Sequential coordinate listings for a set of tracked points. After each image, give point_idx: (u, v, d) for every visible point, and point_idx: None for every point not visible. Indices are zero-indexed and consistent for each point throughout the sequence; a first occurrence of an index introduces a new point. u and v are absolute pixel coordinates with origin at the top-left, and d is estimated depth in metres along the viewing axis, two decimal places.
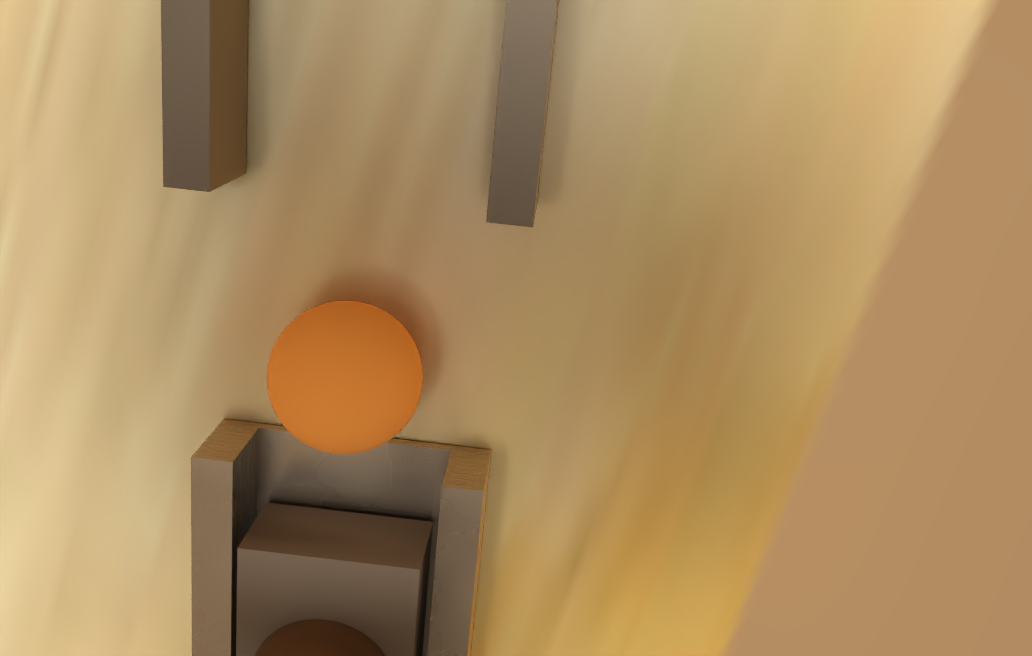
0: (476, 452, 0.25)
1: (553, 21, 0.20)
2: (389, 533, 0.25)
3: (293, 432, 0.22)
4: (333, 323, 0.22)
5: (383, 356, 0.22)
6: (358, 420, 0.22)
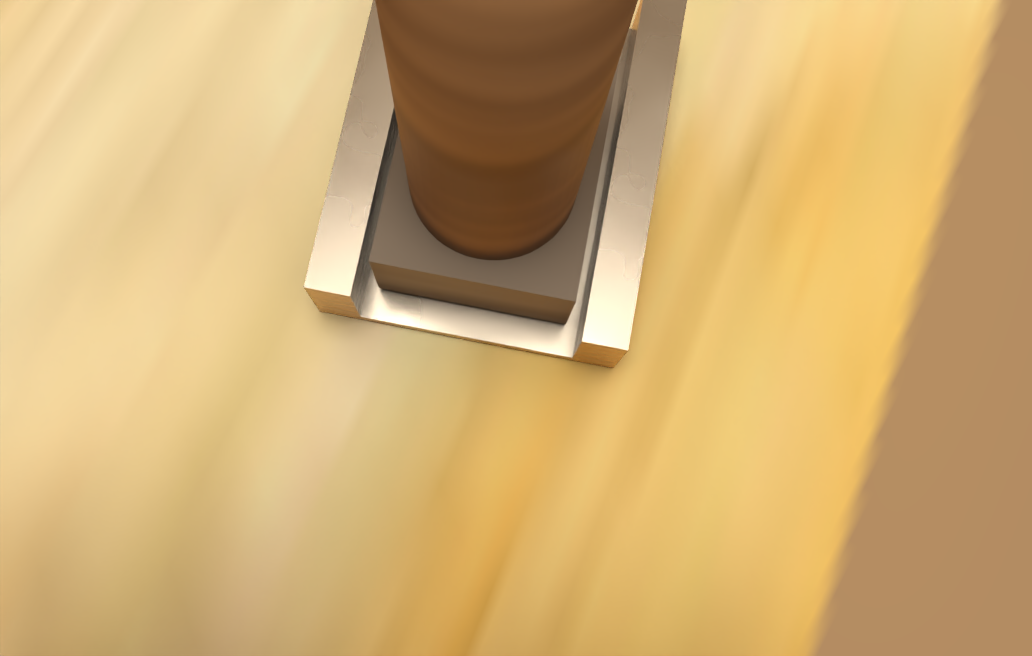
0: None
1: None
2: None
3: None
4: None
5: None
6: None
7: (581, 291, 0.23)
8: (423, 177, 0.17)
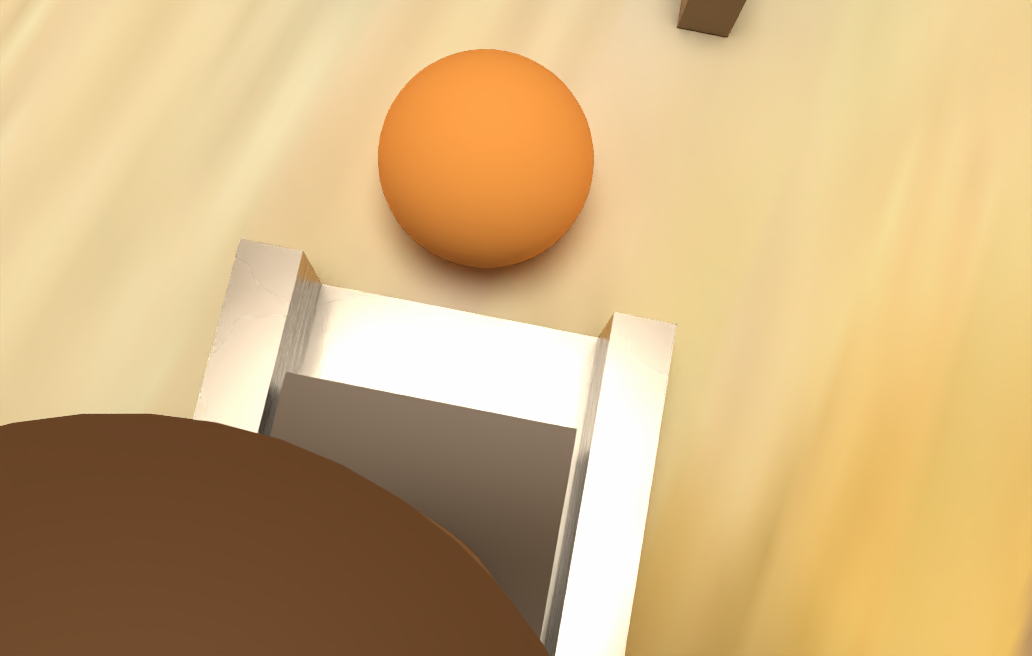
0: None
1: None
2: None
3: (418, 179, 0.15)
4: None
5: (562, 89, 0.16)
6: (526, 147, 0.15)
7: None
8: None
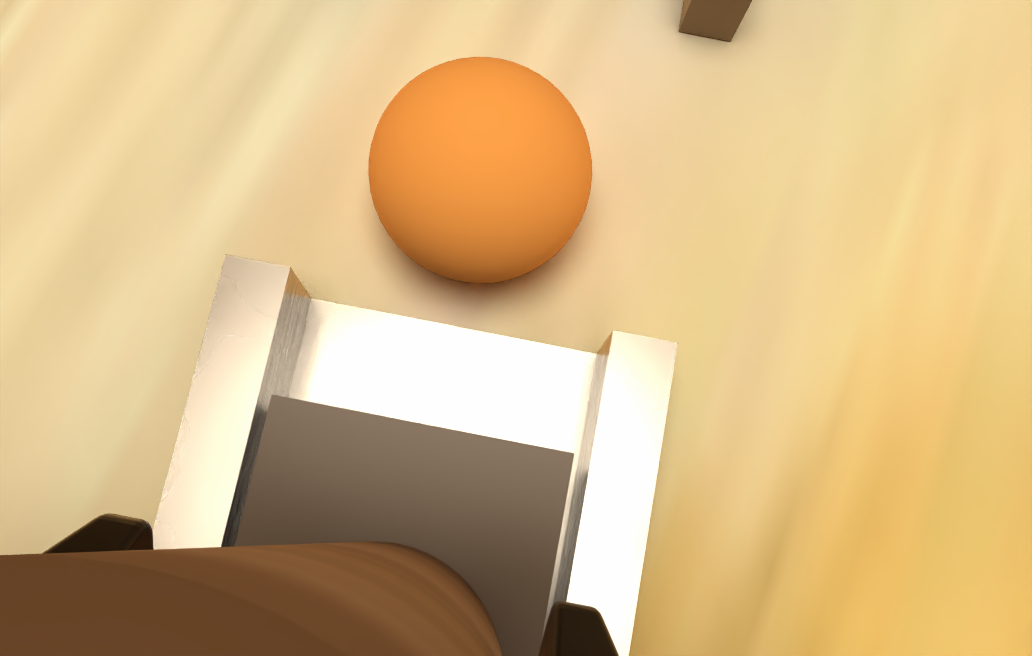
0: None
1: None
2: None
3: (409, 193, 0.15)
4: None
5: (560, 98, 0.15)
6: (522, 160, 0.14)
7: None
8: None
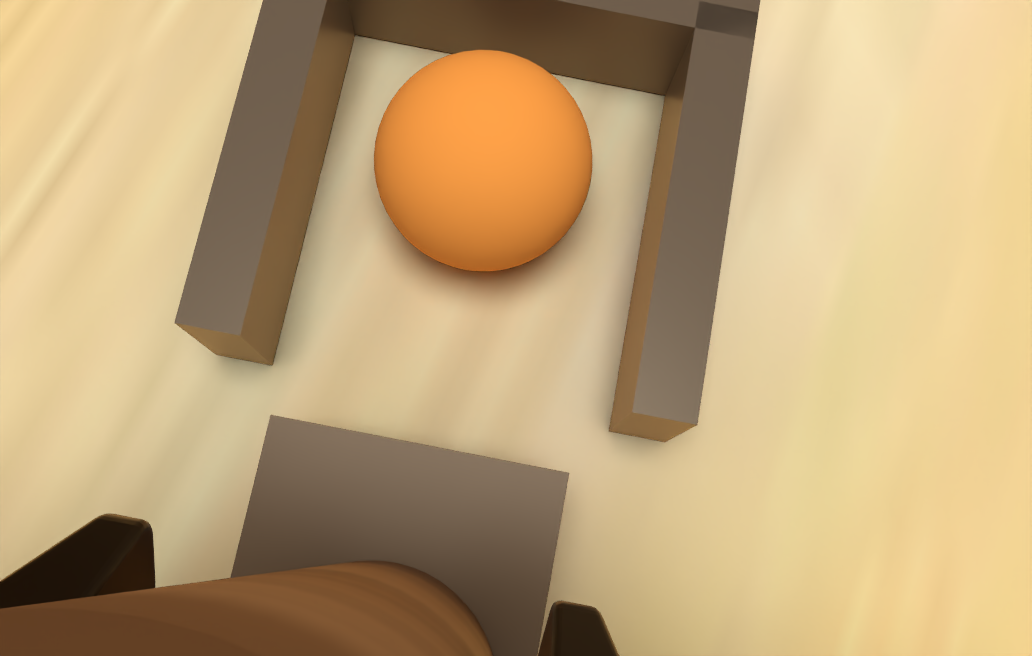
0: None
1: (734, 166, 0.16)
2: None
3: None
4: (457, 213, 0.15)
5: (531, 240, 0.15)
6: None
7: None
8: None
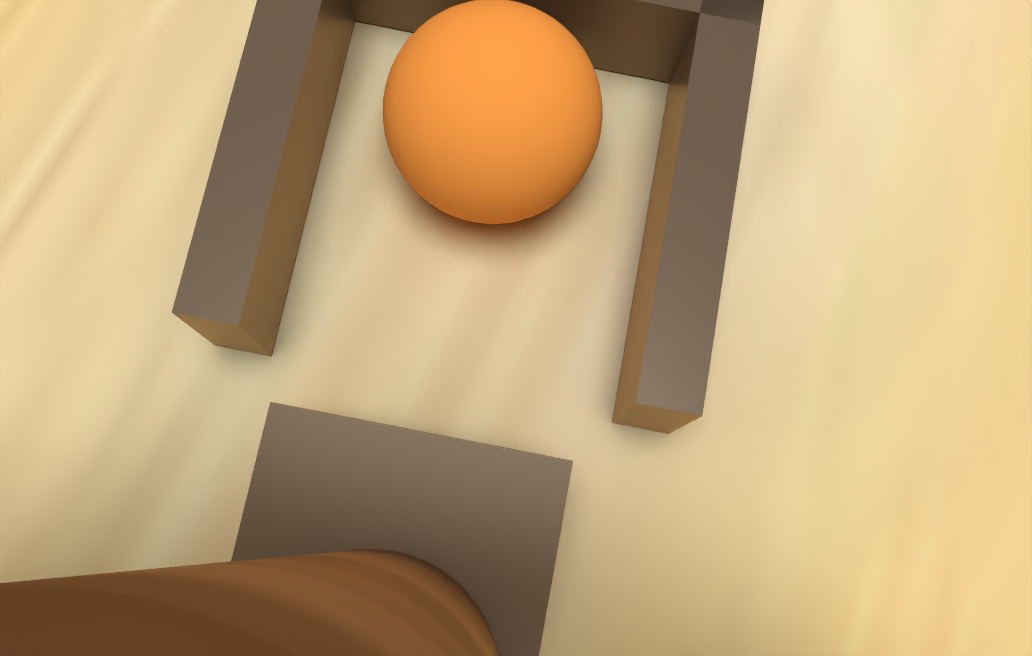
0: None
1: (739, 154, 0.15)
2: None
3: None
4: (473, 119, 0.14)
5: (547, 161, 0.15)
6: (512, 220, 0.16)
7: None
8: None
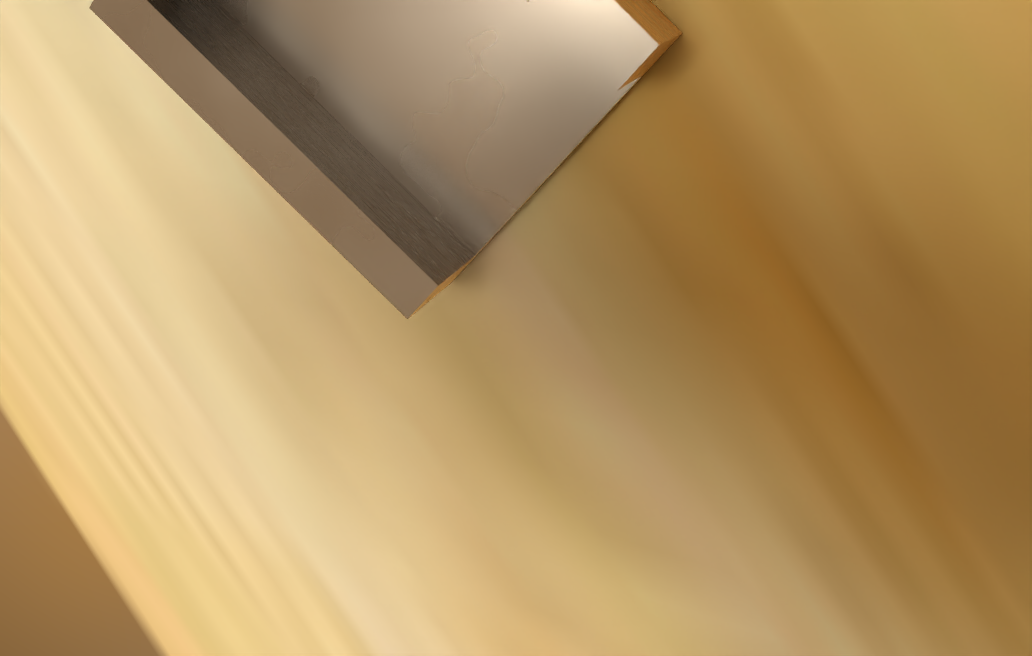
0: None
1: None
2: None
3: None
4: None
5: None
6: None
7: None
8: None
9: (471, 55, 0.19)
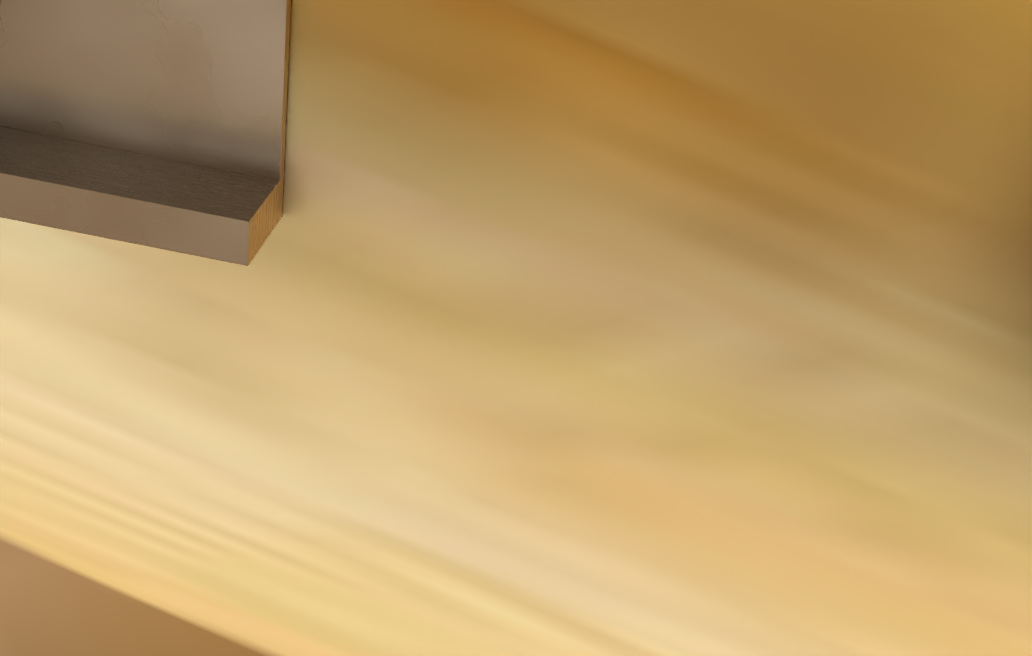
0: None
1: None
2: None
3: None
4: None
5: None
6: None
7: None
8: None
9: (152, 15, 0.19)
